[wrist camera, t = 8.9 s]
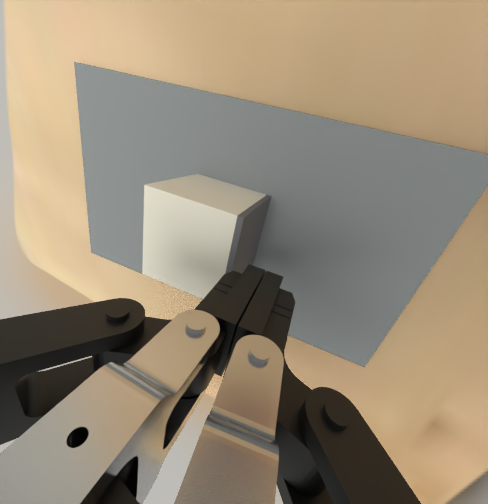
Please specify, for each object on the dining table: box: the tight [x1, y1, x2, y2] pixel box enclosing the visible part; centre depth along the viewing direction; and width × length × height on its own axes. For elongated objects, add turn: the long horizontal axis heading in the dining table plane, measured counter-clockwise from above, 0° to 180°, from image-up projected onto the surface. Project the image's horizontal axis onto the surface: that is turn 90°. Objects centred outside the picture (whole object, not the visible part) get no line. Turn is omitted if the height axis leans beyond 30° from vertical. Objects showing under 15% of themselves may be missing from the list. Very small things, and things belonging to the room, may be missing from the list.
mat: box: [74, 62, 488, 367], centre depth 16 cm, size 24×14×1 cm, turn 77°
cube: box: [142, 174, 271, 299], centre depth 14 cm, size 5×5×5 cm
